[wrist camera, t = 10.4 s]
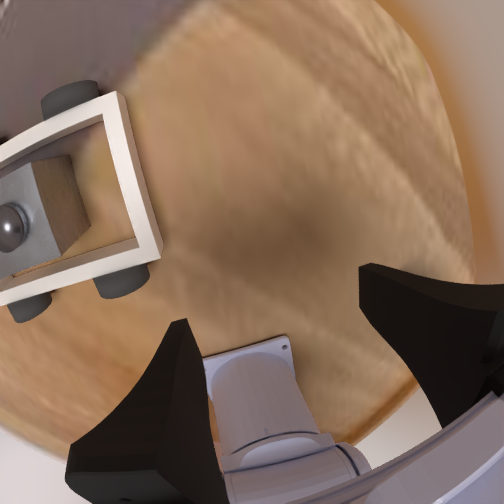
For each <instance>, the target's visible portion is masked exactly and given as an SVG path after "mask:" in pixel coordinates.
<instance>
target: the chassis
mask: <svg viewBox="0 0 504 504" xmlns="http://www.w3.org/2000/svg"><path fill="white" fill-rule="evenodd" d="M41 106H42V113H43V118H44V122H42V123H40V124H38V125H36V126H34V127H32V128H30V129H28V130H26V131H25V132H23V133H21V134H19V135H17V136H16V137H14V138H12V139H11V140H9V141H7V142H6V143H4V144H2V145H1V146H0V169H1V168H3V167H5V166H7V165H8V164H10V163H12V162H14V161H15V160H17V159H19V158H21V157H23V156H25V155H27V154H28V153H30V152H32V151H34V150H36V149H38V148H40V147H42V146H44V145H46V144H48V143H51V142H53V141H55V140H57V139H59V138H61V137H64V136H66V135H68V134H70V133H73V132H75V131H77V130H80V129H82V128H85V127H87V126H90V125H92V124H95V123H97V122H100V121H103V120H104V124H105V128H106V133H107V137H108V141H109V145H110V150H111V154H112V157H113V161H114V165H115V169H116V173H117V176H118V180H119V183H120V187H121V190H122V194H123V197H124V201H125V204H126V207H127V210H128V214H129V217H130V220H131V223H132V226H133V229H134V232H135V235H136V237H135V238H131V239H128V240H125V241H121V242H118V243H115V244H112V245H109V246H105V247H102V248H99V249H96V250H93V251H90V252H87V253H84V254H81V255H78V256H74V257H71V258H68V259H66V260H63V261H60V262H57V263H54V264H51V265H48V266H45V267H42V268H39V269H37V270H34V271H31V272H28V273H25V274H23V275H20V276H17V277H14V278H13V276H12V275H9V276H7V277H4V278H2V279H0V306H3V305H6V304H7V307H8V309H9V311H10V313H11V314H12V316H13V318H14V320H15V321H16V322H17V323H23V322H26V321H29V320H31V319H33V318H35V317H36V316H38V315H39V314H41V313H42V312H43V311H44V310H46V309H47V308H48V306H49V305H50V304H51V302H52V297H51V295H50V293H49V291H51V290H54V289H58V288H61V287H64V286H68V285H71V284H74V283H78V282H81V281H84V280H88V279H91V278H93V281H94V283H95V285H96V287H97V290H98V292H99V294H100V296H101V297H102V298H105V299H113V298H119V297H122V296H125V295H127V294H130V293H132V292H134V291H136V290H137V289H139V288H140V287H142V286H143V285H144V284H145V283H146V282H147V281H148V279H149V277H150V273H149V270H148V267H147V265H146V263H147V262H150V261H154V260H157V259H161V255H162V250H163V245H164V244H163V241H162V237H161V234H160V231H159V228H158V225H157V221H156V218H155V215H154V211H153V208H152V205H151V201H150V198H149V194H148V191H147V187H146V183H145V180H144V176H143V172H142V169H141V165H140V161H139V157H138V153H137V149H136V145H135V141H134V137H133V132H132V128H131V124H130V119H129V115H128V110H127V105H126V100H125V97H124V96H122V95H121V94H120V93H118V92H117V91H114V92H111V93H108V94H106V95H103V96H99V91H98V85H97V82H96V81H92V80H86V81H79V82H74V83H71V84H68V85H65V86H62V87H60V88H58V89H56V90H54V91H52V92H50V93H49V94H47V95H46V96H45V97H44V98H43V99H42V100H41Z"/></svg>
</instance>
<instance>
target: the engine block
mask: <svg viewBox="0 0 504 504" xmlns="http://www.w3.org/2000/svg"><path fill="white" fill-rule="evenodd" d="M90 226H91V225H90V222H89V219H88V216H87V213H86V210H85V207H84V204H83V201H82V198H81V195H80V191H79V188H78V185H77V181H76V178H75V174H74V170H73V167H72V163H71V159H70V155H67V156H61V157H55V158H50V159H45V160H39V161H35V162H30V163H28V164H26V165H24V166H23V167H21V168H19V169H17V170H15V171H13V172H12V173H10V174H8V175H6V176H5V177H3V178H1V179H0V279H2V278H4V277H7V276H9V275H12V274H15V273H17V272H20V271H22V270H25V269H28V268H30V267H33V266H36V265H38V264H41V263H44V262H47V261H49V260H52V259H55V258H58V257H60V256H62V255H63V254H64V253H65V252H66V251H67V250H68V249H69V247H70V246H71V245H72V244H73V243H74V242H75V241H76V240H77V239H78V238H79V237H80V236H81V235H82V234H83V233H84V232H85V231H86V230H87V229H88V228H89V227H90Z"/></svg>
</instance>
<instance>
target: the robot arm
mask: <svg viewBox="0 0 504 504" xmlns="http://www.w3.org/2000/svg"><path fill="white" fill-rule="evenodd" d="M359 307H360V309H361V310H362V312H363V313H364V315H365V316H366V318H367V319H368V321H369V322H370V324H371V325H372V326H373V327H374V328H375V329H376V330H377V332H378V333H379V334H380V335H381V336H382V337H383V338H384V339H385V340H386V341H387V343H388V344H389V345H390V346H391V347H392V348H393V349H394V350H395V351H396V353H397V354H398V355H399V356H400V357H401V358H402V360H403V361H404V362H405V363H406V365H407V366H408V368H409V369H410V371H411V372H412V374H413V375H414V377H415V378H416V380H417V381H418V383H419V385H420V386H421V388H422V389H423V391H424V393H425V394H426V396H427V398H428V400H429V402H430V404H431V406H432V408H433V410H434V412H435V414H436V415H437V418H438V420H439V422H440V425H441V427H442V430H440V431H439V432H437V433H436V434H434V435H433V436H431V437H430V438H429V439H427V440H425V441H424V442H422V443H420V444H419V445H417V446H415V447H414V448H412V449H410V450H409V451H407V452H405V453H403V454H402V455H400V456H398V457H396V458H394V459H393V460H391V461H389V462H387V463H385V464H383V465H381V466H379V467H377V468H375V469H373V470H372V469H371V467H370V465H369V463H368V461H367V459H366V458H365V456H364V455H363V454H362V453H361V452H360V451H359V450H358V449H357V448H355V447H353V446H352V445H350V444H349V443H347V442H338V443H335V442H334V440H333V438H332V436H331V434H330V433H329V432H328V433H324V434H321V433H320V431H319V428H318V426H317V424H316V422H315V420H314V418H313V416H312V414H311V412H310V410H309V408H308V406H307V403H306V401H305V399H304V397H303V395H302V393H301V391H300V389H299V387H298V385H297V382H296V376H295V370H294V364H293V358H292V352H291V346H290V340H289V338H288V337H287V336H280V337H277V338H274V339H271V340H267V341H264V342H261V343H258V344H254V345H251V346H247V347H244V348H240V349H237V350H233V351H229V352H226V353H222V354H218V355H214V356H210V357H207V358H203V359H202V355H201V353H200V350H199V348H198V346H197V343H196V341H195V338H194V336H193V333H192V331H191V328H190V326H189V323H188V321H187V318H185V319H181V320H177V321H173V322H171V324H170V326H169V328H168V330H167V332H166V334H165V336H164V338H163V340H162V342H161V344H160V346H159V347H158V349H157V351H156V353H155V355H154V357H153V359H152V360H151V362H150V364H149V365H148V367H147V369H146V370H145V372H144V374H143V375H142V376H141V378H140V379H139V381H138V382H137V383H136V385H135V386H134V387H133V389H132V390H131V391H130V393H129V394H128V395H127V396H126V397H125V398H124V399H123V400H122V402H121V403H120V404H119V405H118V406H117V407H116V408H115V409H114V410H113V411H112V412H111V413H110V414H109V415H108V416H107V417H106V418H105V419H104V420H103V421H102V422H100V423H99V424H98V425H97V426H96V427H95V428H93V429H92V430H91V431H89V432H88V433H87V434H85V435H84V436H83V437H81V438H80V439H78V440H77V441H76V442H74V443H73V444H71V446H70V450H69V455H68V461H67V467H66V472H65V482H66V483H67V485H68V486H69V487H70V489H72V490H73V491H74V492H75V493H77V494H78V495H80V496H81V497H83V498H84V499H86V500H88V501H89V502H91V503H92V504H504V284H494V285H476V284H461V283H453V282H447V281H441V280H436V279H431V278H427V277H423V276H419V275H415V274H411V273H408V272H404V271H401V270H397V269H394V268H390V267H387V266H383V265H379V264H374V263H369V264H366V265H363V266H360V267H359ZM283 345H286V346H284V347H282V346H283ZM204 368H205V369H204ZM207 392H208V394H209V396H210V398H211V400H212V402H213V405H214V411H215V416H216V422H217V428H218V433H219V439H220V444H221V449H222V455H223V456H222V457H221V462H222V467H223V472H224V474H222V471H221V470H220V469H219V465H218V461H217V457H216V453H215V448H214V444H213V439H212V435H211V428H210V420H209V408H208V394H207Z"/></svg>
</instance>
